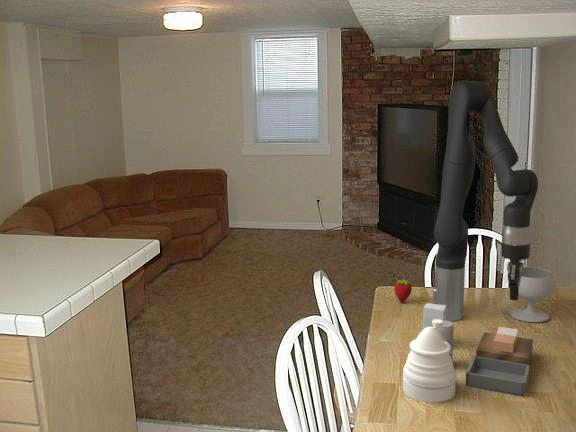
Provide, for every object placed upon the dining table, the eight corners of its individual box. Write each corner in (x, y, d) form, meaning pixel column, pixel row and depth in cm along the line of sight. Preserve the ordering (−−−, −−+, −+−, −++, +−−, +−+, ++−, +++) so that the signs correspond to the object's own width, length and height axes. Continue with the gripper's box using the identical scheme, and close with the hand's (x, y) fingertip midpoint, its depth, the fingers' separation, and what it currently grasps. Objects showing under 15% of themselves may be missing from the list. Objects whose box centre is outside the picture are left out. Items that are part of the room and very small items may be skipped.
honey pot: (437, 374, 164) (439, 309, 160) (465, 396, 152) (468, 327, 148) (393, 382, 160) (394, 316, 156) (419, 406, 148) (421, 336, 144)
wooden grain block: (475, 367, 167) (476, 350, 166) (483, 348, 178) (484, 332, 177) (527, 376, 161) (528, 358, 160) (532, 356, 173) (533, 339, 172)
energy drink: (429, 361, 171) (430, 320, 169) (448, 360, 172) (449, 319, 169) (435, 369, 166) (436, 327, 164) (455, 368, 167) (456, 326, 164)
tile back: (496, 341, 171) (496, 333, 170) (498, 335, 175) (499, 326, 175) (515, 344, 169) (515, 336, 168) (517, 337, 173) (518, 329, 173)
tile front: (493, 349, 166) (493, 340, 166) (495, 342, 170) (496, 333, 170) (512, 352, 164) (513, 343, 163) (515, 345, 168) (515, 336, 168)
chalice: (498, 316, 202) (500, 272, 199) (521, 305, 211) (523, 263, 208) (539, 328, 192) (542, 281, 189) (561, 316, 201) (564, 272, 197)
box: (465, 385, 157) (466, 373, 157) (473, 367, 167) (473, 355, 166) (524, 396, 151) (525, 383, 150) (528, 377, 161) (529, 364, 160)
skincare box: (446, 343, 182) (447, 305, 180) (443, 349, 179) (444, 310, 176) (425, 340, 185) (426, 302, 182) (422, 346, 181) (423, 307, 179)
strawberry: (412, 300, 218) (413, 273, 216) (410, 307, 211) (410, 279, 209) (395, 299, 220) (396, 272, 218) (392, 306, 213) (392, 278, 211)
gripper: (504, 234, 182) (503, 290, 185) (498, 245, 170) (497, 305, 174) (532, 236, 179) (530, 293, 182) (528, 247, 167) (525, 308, 171)
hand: (514, 299), depth 178 cm, fingers closed
